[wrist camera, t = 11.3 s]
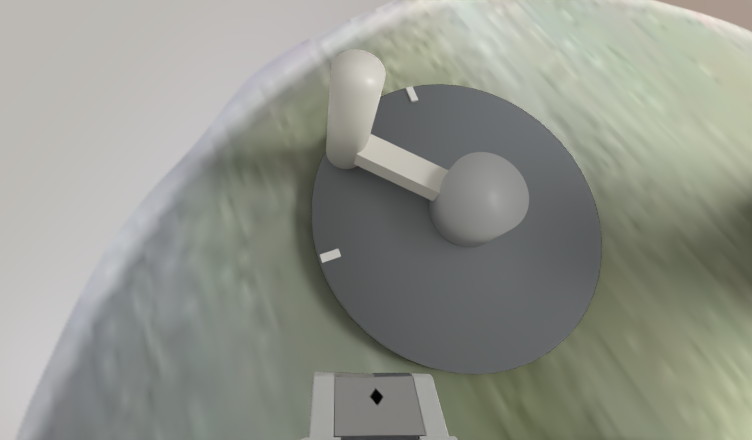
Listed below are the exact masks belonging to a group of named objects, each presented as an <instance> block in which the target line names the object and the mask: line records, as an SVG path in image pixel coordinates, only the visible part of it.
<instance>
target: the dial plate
mask: <svg viewBox="0 0 752 440" xmlns="http://www.w3.org/2000/svg"><path fill="white" fill-rule="evenodd" d="M370 134H372V135H374V136H377V137H379V138H381V139H383V140H385V141H387V142H389V143H391V144H394V145H396V146H398V147H400V148H402V149H404V150H406V151H408V152H410V153H413V154H415V155H417V156H419V157H421V158H423V159H425V160H427V161H430V162H432V163H434V164H436V165H438V166H440V167H442V168H444V169H446V170H450V168H451V167H452V166H453V165H454V163H455V162H456V161H457V160H459V159H460V158H461V157H463V156H465V155H467V154H470V153H474V152H487V153H492V154H496V155H498V156H500V157H502V158H504V159H506V160H507V161H509V162H510V163H511V164H512V165H514V166H515V167H516V169H517V170H518V171H519V172H520V174H521V175H522V177H523V178H524V180H525V183H526V185H527V188H528V193H529V206H528V210H527V213H526V215H525V217H524V219H523V220H522V221H521V222H520V223H519V224H518V225H517V226H516V227H514V228H513V229H511V230H509V231H507V232H506V233H504V234H502V235H500V236H498V237H496V238H495V239H493V240H491V241H489V242H487V243H485V244H483V245H481V246H477V247H463V246H459V245H456V244H453V243H452V242H450V241H448V240H447V239H445V238H444V237H443V236H442V235H441V234H440V233H439V232H438V231H437V229H436V228H435V226H434V224H433V223H432V220H431V217H430V213H429V199H427V198H425V197H423V196H421V195H419V194H416V193H414V192H412V191H410V190H408V189H406V188H404V187H402V186H399V185H397V184H395V183H393V182H391V181H389V180H387V179H385V178H382V177H380V176H378V175H376V174H374V173H372V172H370V171H368V170H365V169H363V168H361V167H359V166H357V167H355V168H352V169H341V168H338V167H336V166H334V165H333V164H332V163H331V162H330V161H329V160H328V158H327V155H326V151H325V154H324V156H323V158H322V160H321V162H320V165H319V168H318V171H317V175H316V178H315V182H314V189H313V195H312V231H313V239H314V245H315V249H316V253H317V257H318V260H319V264H320V266H321V269H322V271H323V274H324V276H325V278H326V281H327V283H328V285H329V287H330V288H331V290H332V292H333V293H334V295H335V297H336V299H337V300H338V302H339V303H340V304H341V306H342V307H343V308H344V310H345V311H346V312H347V314H348V315H349V316H350V317H351V319H352V320H353V321H354V322H355V323H356V324H357V325H358V326H359V327H360V328H361V329H362V330H364V331H365V332H366V333H367V334H368V335H369V336H370V337H372V338H373V339H374V340H376V341H377V342H378V343H380V344H381V345H382V346H384V347H385V348H387V349H389V350H391V351H392V352H394V353H396V354H398V355H399V356H401V357H403V358H405V359H408V360H410V361H413V362H416V363H418V364H421V365H423V366H427V367H430V368H435V369H439V370H443V371H447V372H452V373H463V374H488V373H497V372H502V371H506V370H511V369H515V368H518V367H520V366H523V365H525V364H528V363H530V362H533V361H535V360H536V359H538V358H540V357H541V356H543V355H545V354H547V353H548V352H550V351H551V350H552V349H554V348H555V347H556V346H557V345H558V344H560V343H561V342H562V341H563V340H564V339H565V338H566V337H567V336H568V335H569V334H570V333H571V331H572V330H573V329H574V328H575V327H576V326H577V324H578V323H579V321H580V320H581V318H582V317H583V315H584V313H585V312H586V310H587V308H588V306H589V304H590V301H591V299H592V297H593V295H594V292H595V288H596V285H597V281H598V278H599V273H600V265H601V258H602V238H601V230H600V222H599V217H598V213H597V209H596V205H595V202H594V199H593V196H592V194H591V191H590V188H589V186H588V184H587V182H586V180H585V178H584V176H583V174H582V172H581V170H580V169H579V167H578V165H577V164H576V162H575V161H574V159H573V157H572V156H571V155H570V153H569V152H568V151H567V150H566V148H565V147H564V146H563V144H562V143H561V142H560V141H559V140H558V139H557V138H556V137H555V136H554V135H553V134H552V133H551V132H550V131H549V130H548V129H547V128H546V127H545V126H544V125H542V124H541V123H540V122H539V121H538V120H537V119H535V118H534V117H533V116H531V115H530V114H528V113H527V112H525V111H524V110H522V109H521V108H519V107H517V106H515V105H514V104H512V103H510V102H508V101H506V100H504V99H502V98H499V97H497V96H495V95H492V94H490V93H486V92H483V91H480V90H477V89H473V88H468V87H462V86H456V85H444V84H436V85H421V86H415V87H412V86H411V87H407V88H405V89H401V90H398V91H395V92H392V93H389V94H387V95H385V96H382V97H380V100H379V104H378V108H377V111H376V115H375V119H374V122H373V126H372V129H371V133H370Z"/></svg>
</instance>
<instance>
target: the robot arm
mask: <svg viewBox="0 0 752 440" xmlns="http://www.w3.org/2000/svg"><path fill="white" fill-rule="evenodd" d="M301 440H458V439H457V438H456V437H455V436H449V435H448V431H447V428H446V424H445V420H444V417H443V413H442V410H441V406H440V402H439V399H438V395H437V391H436V388H435V384H434V381H433V377H432V376H431V375H430V374H410V373H373V374H365V373H341V372H335V373H334V372H314V376H313V386H312V399H311V412H310V425H309V437H303V438H301Z"/></svg>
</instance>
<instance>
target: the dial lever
mask: <svg viewBox="0 0 752 440" xmlns="http://www.w3.org/2000/svg"><path fill="white" fill-rule="evenodd" d="M385 78H386V72H385V68H384V66H383V64H382V62H381V61H380V60H379V59H378V58H377V57H376V56H374V55H373V54H371V53H369V52H367V51H364V50H358V49H352V50H347V51H344V52H342V53H340V54H339V55H337V56H336V57H335V59H334V60H333V62H332V65H331V74H330V91H329V107H328V124H327V141H326V155H327V158H328V160H329V161H330V162H331V163H332V164H333V165H334V166H336V167H338V168H341V169H352V168H355V167H357V166H359V167H361V168H363V169H365V170H368V171H370V172H372V173H374V174H376V175H378V176H380V177H382V178H385V179H387V180H389V181H391V182H393V183H395V184H397V185H399V186H402V187H404V188H406V189H408V190H410V191H412V192H414V193H416V194H419V195H421V196H423V197H425V198H427V199H429V213H430V217H431V220H432V223H433V224H434V226H435V228H436V229H437V231H438V232H439V233H440V234H441V235H442V236H443V237H444V238H445V239H447V240H448V241H450V242H452V243H453V244H456V245H459V246H463V247H477V246H481V245H483V244H485V243H487V242H489V241H491V240H493V239H495V238H496V237H498V236H500V235H502V234H504V233H506V232H507V231H509V230H511V229H513V228H514V227H516V226H517V225H518V224H519V223H520V222H521V221H522V220H523V219H524V217H525V215H526V213H527V210H528V206H529V193H528V188H527V185H526V183H525V180H524V178H523V177H522V175H521V174H520V172H519V171H518V170H517V169H516V167H515V166H514V165H512V164H511V163H510V162H509V161H507V160H506V159H504V158H502V157H500V156H498V155H496V154H492V153H487V152H474V153H470V154H467V155H465V156H463V157H461V158H460V159H459V160H457V161H456V162H455V163H454V165H453V166H452V167H451V168H450V170H446V169H444V168H442V167H440V166H438V165H436V164H434V163H432V162H430V161H427V160H425V159H423V158H421V157H419V156H417V155H415V154H413V153H410V152H408V151H406V150H404V149H402V148H400V147H398V146H396V145H394V144H391V143H389V142H387V141H385V140H383V139H381V138H379V137H377V136H374V135H372V134H370V133H371V129H372V126H373V122H374V119H375V115H376V111H377V108H378V104H379V100H380V97H381V93H382V89H383V86H384V82H385Z"/></svg>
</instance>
